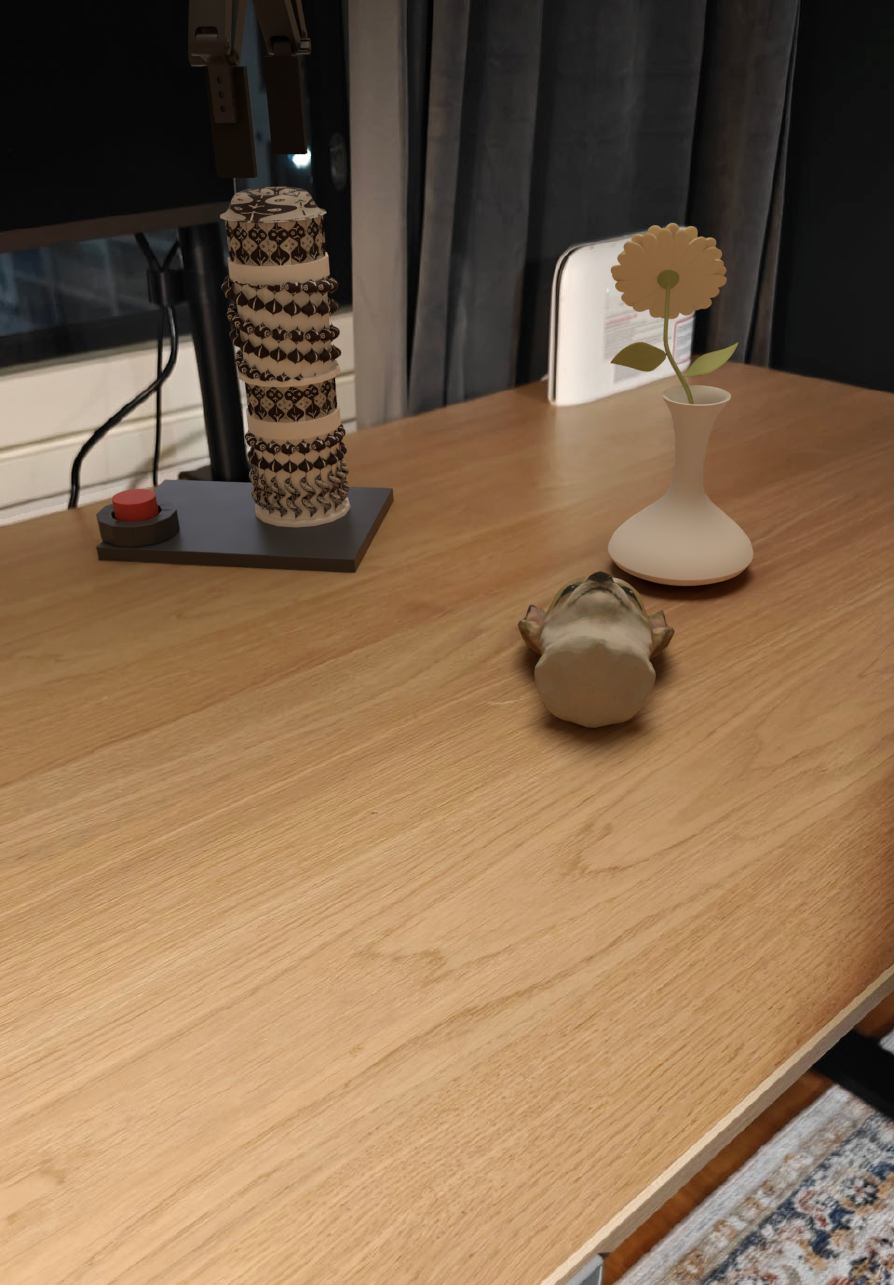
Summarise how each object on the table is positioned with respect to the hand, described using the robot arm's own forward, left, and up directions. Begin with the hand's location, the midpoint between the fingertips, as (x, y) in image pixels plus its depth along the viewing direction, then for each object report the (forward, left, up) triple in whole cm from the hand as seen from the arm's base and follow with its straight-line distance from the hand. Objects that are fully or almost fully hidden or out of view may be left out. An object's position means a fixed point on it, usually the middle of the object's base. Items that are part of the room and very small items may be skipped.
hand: (265, 165), depth 84 cm
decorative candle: (0, 0, -27) cm, 27 cm away
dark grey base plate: (-4, -2, -28) cm, 28 cm away
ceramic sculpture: (+27, -26, -28) cm, 47 cm away
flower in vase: (+32, -6, -28) cm, 43 cm away
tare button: (-12, -6, -25) cm, 29 cm away
